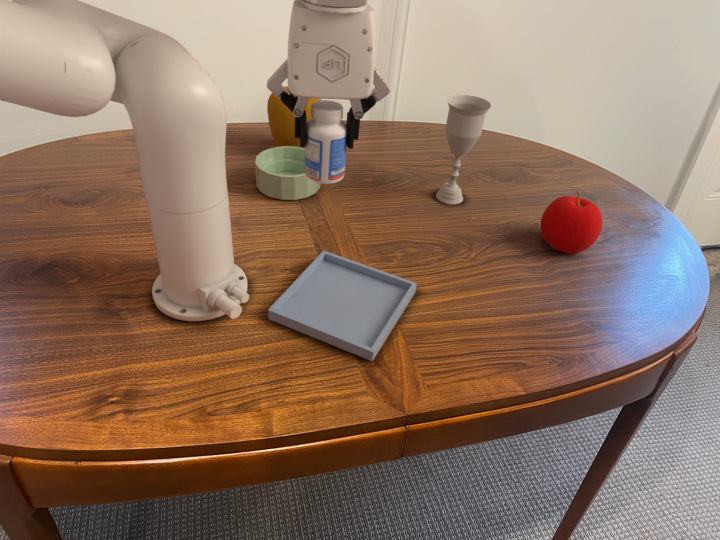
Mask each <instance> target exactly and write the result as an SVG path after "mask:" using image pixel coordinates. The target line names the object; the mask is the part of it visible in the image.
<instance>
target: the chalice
mask: <svg viewBox="0 0 720 540" xmlns="http://www.w3.org/2000/svg"><path fill="white" fill-rule="evenodd" d="M446 100H447V104H448V113H447V118H446V124H445V135H446V140H447V144H448V148H449V151H450V153H451V154H453V155H454V160H453V161H452V163H451V165H452V170H451V171H449V173H448V174H449V175H450V180H449V181H448V182H445V183H444V184H442V185H441V187H440V188H439V189H438V191H437V192H436V194H435V198H436V199H437V200H438V201H439V202H441V203H444V204H447V205H458V204H460V203H462V202H463V201H464V197H463V192H462V188H461V187H460V185H459V184H458V183H457V181H456V180H457V179H458V177H459V176H460V173H459V168H460V167H461V166H462V164H461V158H462V156H466V155H467V154H468V153H469V152H470V150H471V149H472V148H473V147H474V146H475V145H476V144H477V142H478V140H479V139H480V137H481V135H482V133H483V128H484V123H485V120H486V114H487V112H488V111H490V109H491V107H492V104H491V103H490V101H488V100H486V99H484V98H482V97H479V96H475V95H467V94H457V95H453V96H450V97H448V98H447V99H446Z"/></svg>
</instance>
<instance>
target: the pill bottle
mask: <svg viewBox="0 0 720 540" xmlns="http://www.w3.org/2000/svg"><path fill="white" fill-rule="evenodd" d="M311 116H312V119H310V120H309V121H308V122H307V130H306V146H305V174H306V176H307V178H309V179H310V180H312V181H314V182H317V183H321V185H331V184H337V183H339V182H340V181H342V180H343V179H344V177H345V172H346V160H347V125H346V122H345V121H344V120H343V117H344V105H342V104H341V103H340V102H338V101H335V100H330V99H321V101H316V102H314V103H312V105H311Z"/></svg>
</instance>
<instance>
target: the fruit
mask: <svg viewBox="0 0 720 540" xmlns="http://www.w3.org/2000/svg"><path fill="white" fill-rule="evenodd" d="M580 194H581V190H577V191H576V196H571V195H565V196H560V197H557V198H555V199H553V201H551V202H550V203H549V205H548V206H547V207H546V208H545V209H544V211H543V213H542V215H541V218H540V232H541V236H542V238H543V240H544V241H545V243H546V244H548V245H549V246H550V247H551V248H552V249H553V250H555V251H557V252H561V253H564V254H565V253H566V254H569V255H576V254H579V253H582V252H584V251H586V250H588V249H589V248H590V247H591V246H593V245H594V244H595V243H596V241H597V240H598V239H599V237H600V235H601V232H602V228H603V216H602V212H601V210H600V208H599V207H598V206H597V204H595V203H594V202H592V200H589V199H586V198H584V197H583V198H582V197H580Z"/></svg>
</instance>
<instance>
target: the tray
mask: <svg viewBox="0 0 720 540" xmlns="http://www.w3.org/2000/svg"><path fill="white" fill-rule="evenodd" d="M417 285H418V283H417V282H414V281H412V280H409V279H407V278H403V277H401V276H397V275H395V274H392V273H390V272H386V271H384V270H381V269H379V268H375V267H372V266H370V265H368V264H367V265H366V264H363V263H360V262H359V261H355V260H352V259H349V258H347V257H344V256H340V255H338V254H336V253H333V252H329V251H327V250H322V251H321V252H320V254H319V255H317V257H316V258H315V259H314V260H313V261H312V262H311V263H310V264H309V265H308V266H307V267H306V268H305V270H304V271H302V273H301V274H299V276H298V277H297V278H296V279H295V280H294V281H293V283H291V284H290V286H289V287H287V289H286V290H284V292H283V293H282V294H281V295H280V296H279V297H278V298H277V300H276V301H274V302H273V304H272V305H271V306H270V307H269V308H268V309H267V319H268V320H270V321H272V322H275V323H277V324H279V325H281V326H284V327H286V328H290V329H292V330H294V331H296V332H299V333H300V334H301V333H302V334H304V335H307V336H309V337H311V338H314V339H316V340H319V341H321V342H323V343H326V344H328V345H331V346H333V347H336V348H338V349H340V350H342V351H345V352H348V353H351V354H353V355H356V356H358V357H360V358H362V359H364V360H365V359H366V360H367V361H369V362H373V361H374V360H375V358H376V357H377V355H378V353H379V352H380V350H381V348H382V347H383V345H384V343H385V342H386V340H387V339H388V337H389V335H390V334H391V332H392V331H393V329H394V327H395V326H396V324H397V323H398V322H399V319H400V318H401V316H402V314H403V313H404V311H405V310H406V308H407V306H408V305H409V303H410V302H411V300H412V298H413V297H414V295H415V294H416V292H417V291H416V290H417Z"/></svg>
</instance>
